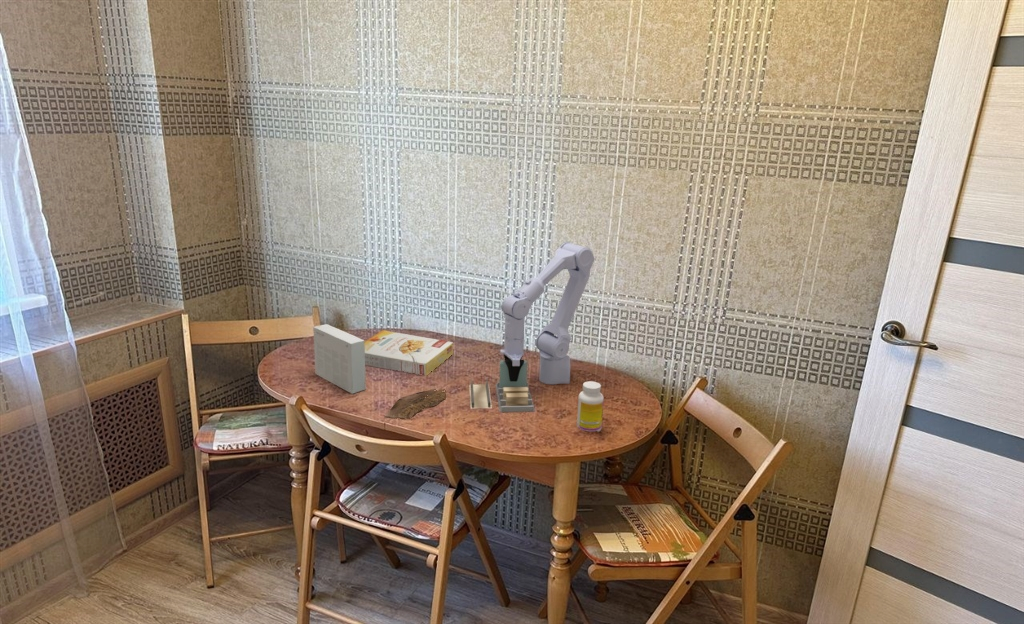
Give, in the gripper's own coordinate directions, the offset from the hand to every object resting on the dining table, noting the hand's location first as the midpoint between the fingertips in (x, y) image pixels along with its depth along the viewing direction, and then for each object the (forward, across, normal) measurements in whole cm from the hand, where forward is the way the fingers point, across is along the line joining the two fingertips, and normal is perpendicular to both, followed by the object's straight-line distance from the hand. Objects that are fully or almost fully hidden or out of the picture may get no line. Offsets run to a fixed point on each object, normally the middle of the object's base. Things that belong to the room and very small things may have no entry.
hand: (513, 379), depth 186 cm
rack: (+4, +5, 0) cm, 7 cm away
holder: (+4, +4, -10) cm, 12 cm away
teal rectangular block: (+3, 0, 0) cm, 3 cm away
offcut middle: (+3, +8, 0) cm, 9 cm away
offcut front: (+3, +12, 0) cm, 13 cm away
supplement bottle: (+5, +23, +18) cm, 30 cm away
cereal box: (+5, -28, -34) cm, 45 cm away
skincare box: (+5, -10, -52) cm, 54 cm away
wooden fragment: (+5, +5, -28) cm, 28 cm away
